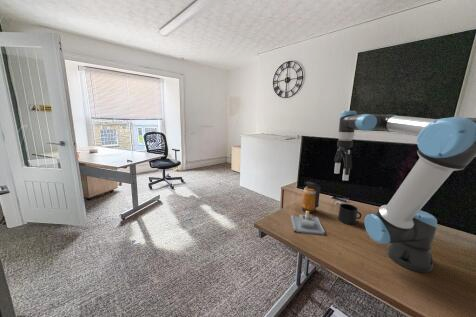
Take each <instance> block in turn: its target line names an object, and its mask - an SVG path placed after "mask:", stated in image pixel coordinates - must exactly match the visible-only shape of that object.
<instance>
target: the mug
mask: <svg viewBox="0 0 476 317" xmlns="http://www.w3.org/2000/svg"><path fill="white" fill-rule="evenodd" d="M358 214H359V216H358ZM357 216H358V217H357ZM362 216H363V215H362V213H361V212H360V211H359V210H358V207H356V206H354V205H353V204H349V203H341V204H339V209H338V216H337V217H338V221H339V222H341V223H343V224H346V225H355V224H356V223H357V220H359V219H361V218H362Z"/></svg>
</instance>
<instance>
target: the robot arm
mask: <svg viewBox="0 0 476 317" xmlns="http://www.w3.org/2000/svg"><path fill="white" fill-rule="evenodd" d="M338 124H339V126H338V133H337V139H338V140H337V142H336V147H337V149H336V153H335V156H334V160H333V161H334V172H333V173H334V174H336V175H337V174H340V170H341V165H342V159H343V167H342V169H343V171H342V172H343V173H342V181H349V176H350V172H351V171H350V170H352V169H353V160H352V159H353V158H352V149H350V148H352V147H353V144H354V142H353V140H354V136H355V135H356V134H355V130H358V131H386V132H392V133H397V134H404V135H408V136H413V137H417V138H416V142H418V143H417V145H416V146H417V148H418V149H417V155H418V157H419V158H418V160H417V161H416V162H415V164H414V166H412V169H411V170H410V172H408V174H407V176H406V177H405V179H404V180H403V182H402V183H401V184H400V185H399V188H398V189H396V191H395V193H394V194H393V196H392V197H391V199H390V200H389V202H388V203H387V204H383V205H381V206H380V207H378V209H377V211H376V212H375V213H370V214H367V215H366V216H365V218H364V227H365V231H366V232H367V234H368V235H369V237H370V239H372V240H373V241H374V242H376V243H378V244H387V245H388V247H387V249H386V250H387V255H388V257H389V259H391V260H392V261H394V262H395V263H396V264H398V265H399V266H401V267H404V268H406V269H409V270H410V271H415V272H419V273H430V272H432V270H433V268H434V260H433V256H432V245H433V242H434V237H435V234H436V229H438V228H437V225H438V219H437V218H436V217H435V216H434V215H432V214H431V213H429V212H427V211H423V210H422V208H423V207H425V205H426V204H427V202H428V201H429V200H430V199H431V198H432V197H433V196H434V194H435V193H436V192H438V190H439V188H440V187H441V186H442V185H443V184H444V182H445V181H447V179H448V178H449V177H450V175H451V174H452V173H453V172H454V171H462V170H465V168H466V167H467V166H468V165H469V164H470V163H471V162H472V161H473V159H474V158H476V117H464V116H452V117H444V118H437V119H435V118H425V117H415V116H402V115H396V114H369V113H363V114H358V112H357V111H356V110H342V111H341V113H340V117H339V123H338Z"/></svg>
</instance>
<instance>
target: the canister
mask: <svg viewBox="0 0 476 317" xmlns="http://www.w3.org/2000/svg"><path fill="white" fill-rule="evenodd" d="M304 184H305V185H306V186H305V187H304V189H303V191H302V192H303V193H302V198H301V199H302V200H301V210H302V211H304V212H306V211H309V213H315V212H316V208H318V207H320V206H319V201H320V193H321V190H322V187H321V186H320V185H319V184H318V183H317V182H312V181H306V182H304Z"/></svg>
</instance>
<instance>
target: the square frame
mask: <svg viewBox="0 0 476 317" xmlns="http://www.w3.org/2000/svg"><path fill="white" fill-rule="evenodd" d="M298 217H299V222H300V225H301V227H311V228H314V219H313V218H314V217H313V215H312V214H309V219H305V214H300V213H299V216H298Z"/></svg>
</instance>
